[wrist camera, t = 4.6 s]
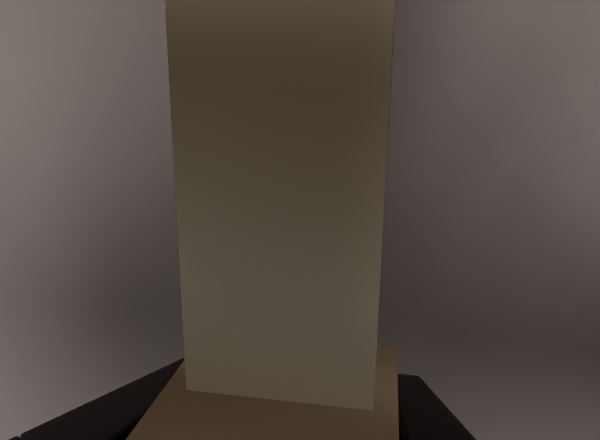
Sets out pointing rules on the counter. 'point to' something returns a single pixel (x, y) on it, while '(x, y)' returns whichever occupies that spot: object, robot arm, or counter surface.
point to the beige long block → (279, 221)
